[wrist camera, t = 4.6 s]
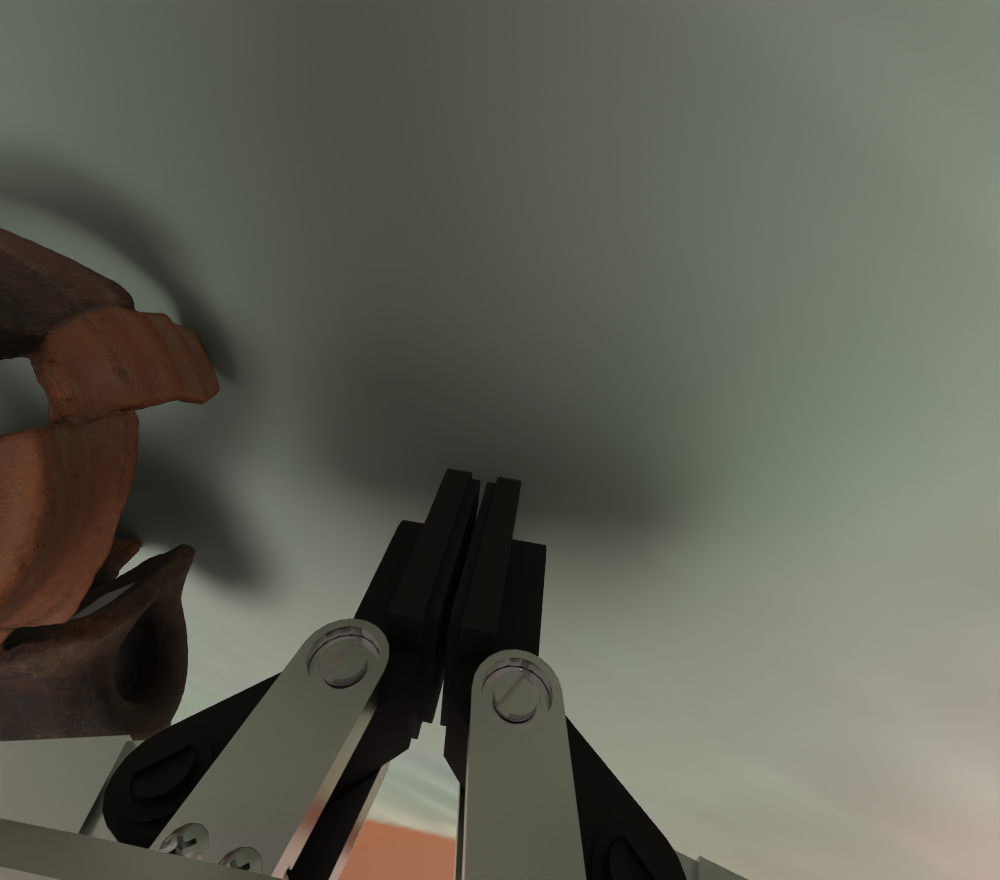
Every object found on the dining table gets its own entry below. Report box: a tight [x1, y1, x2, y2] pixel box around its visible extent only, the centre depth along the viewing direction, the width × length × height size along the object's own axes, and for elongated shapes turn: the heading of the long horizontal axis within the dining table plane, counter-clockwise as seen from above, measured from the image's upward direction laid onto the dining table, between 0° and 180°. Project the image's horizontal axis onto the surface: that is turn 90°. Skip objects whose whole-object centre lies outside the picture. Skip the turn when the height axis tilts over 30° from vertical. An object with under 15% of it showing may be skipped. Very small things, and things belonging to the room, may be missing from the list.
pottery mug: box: [0, 228, 220, 741], centre depth 11 cm, size 12×10×8 cm
